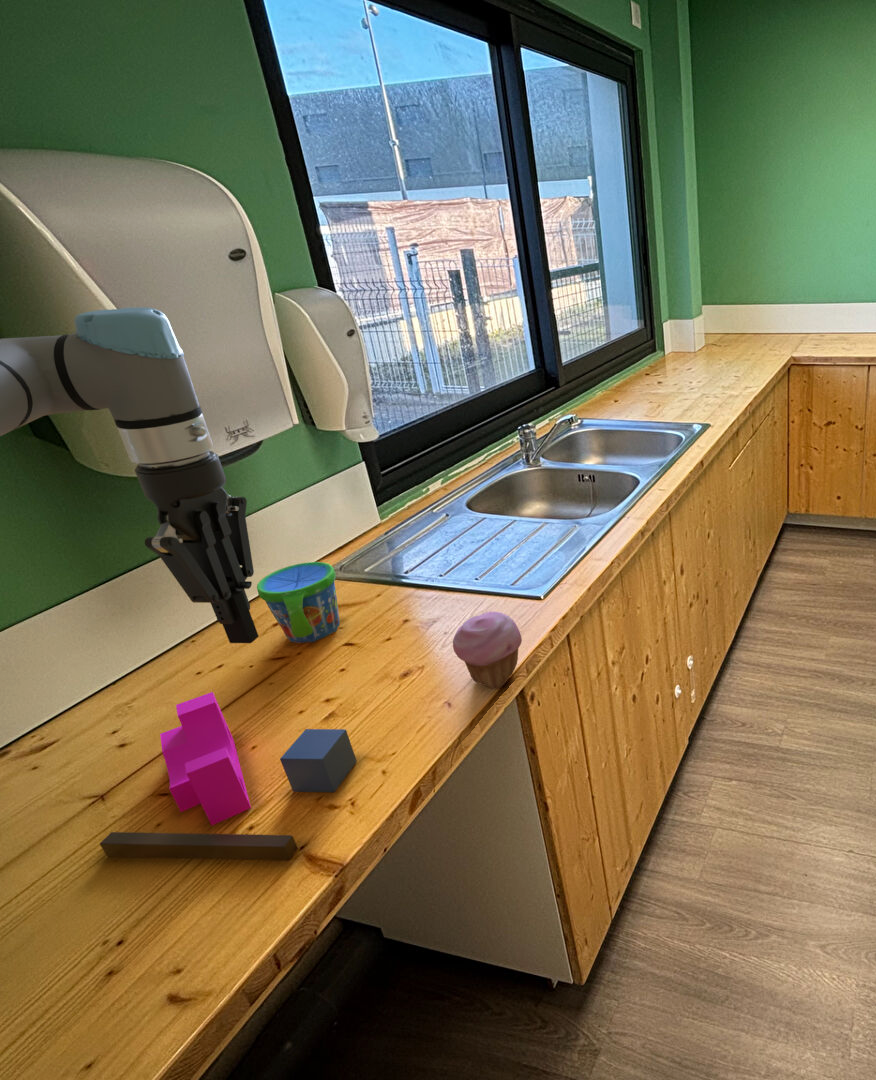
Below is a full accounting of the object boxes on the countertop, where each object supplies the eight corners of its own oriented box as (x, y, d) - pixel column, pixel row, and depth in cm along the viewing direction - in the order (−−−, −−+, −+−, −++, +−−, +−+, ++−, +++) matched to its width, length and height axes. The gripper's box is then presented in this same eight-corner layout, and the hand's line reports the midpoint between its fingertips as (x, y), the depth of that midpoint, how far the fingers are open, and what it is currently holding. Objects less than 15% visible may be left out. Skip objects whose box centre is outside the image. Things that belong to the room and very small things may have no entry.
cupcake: (450, 688, 97) (434, 627, 93) (493, 654, 104) (481, 596, 100) (499, 704, 93) (485, 642, 89) (540, 668, 100) (530, 609, 96)
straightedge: (107, 857, 73) (99, 843, 72) (119, 845, 74) (111, 831, 74) (289, 860, 72) (283, 846, 71) (298, 848, 73) (292, 834, 72)
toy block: (174, 762, 86) (150, 714, 83) (233, 739, 89) (212, 691, 86) (184, 837, 75) (157, 785, 72) (250, 808, 79) (228, 757, 75)
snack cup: (289, 614, 117) (270, 560, 113) (357, 602, 120) (341, 549, 116) (265, 666, 104) (242, 607, 99) (342, 651, 106) (323, 593, 102)
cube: (292, 791, 81) (279, 758, 78) (317, 760, 85) (305, 728, 83) (334, 792, 80) (322, 759, 78) (357, 761, 85) (346, 729, 83)
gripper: (161, 478, 70) (237, 671, 80) (248, 439, 82) (304, 612, 92) (91, 478, 70) (175, 671, 81) (187, 440, 82) (250, 612, 92)
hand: (244, 639), depth 86 cm, fingers closed
